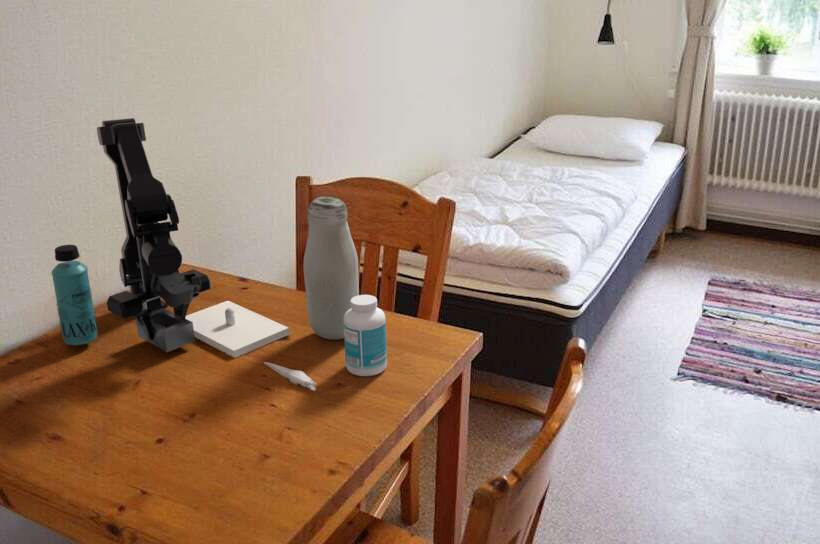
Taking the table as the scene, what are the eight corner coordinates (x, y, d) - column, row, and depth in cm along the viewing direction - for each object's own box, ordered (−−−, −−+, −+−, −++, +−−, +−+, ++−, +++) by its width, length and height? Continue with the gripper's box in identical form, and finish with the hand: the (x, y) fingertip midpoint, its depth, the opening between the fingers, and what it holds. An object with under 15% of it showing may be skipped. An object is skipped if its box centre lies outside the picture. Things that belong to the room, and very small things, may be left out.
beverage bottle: (56, 349, 154) (37, 250, 146) (81, 334, 160) (64, 239, 152) (83, 355, 152) (65, 255, 144) (107, 340, 157) (92, 243, 150)
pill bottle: (389, 359, 149) (388, 291, 144) (384, 379, 142) (382, 309, 137) (349, 357, 150) (346, 290, 145) (342, 377, 143) (339, 307, 138)
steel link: (138, 336, 156) (135, 317, 154) (165, 326, 160) (163, 307, 158) (167, 352, 149) (164, 332, 148) (194, 341, 153) (192, 322, 152)
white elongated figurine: (323, 388, 139) (322, 378, 139) (311, 394, 138) (310, 384, 137) (270, 364, 149) (269, 354, 149) (258, 369, 148) (257, 360, 147)
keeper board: (175, 326, 163) (172, 304, 161) (228, 306, 171) (226, 285, 170) (234, 357, 150) (232, 334, 148) (289, 334, 159) (287, 311, 157)
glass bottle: (364, 326, 162) (360, 191, 152) (352, 349, 153) (347, 207, 142) (317, 323, 164) (309, 189, 153) (302, 345, 154) (293, 205, 144)
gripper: (132, 283, 137) (144, 364, 143) (224, 254, 150) (231, 330, 155) (99, 267, 144) (112, 345, 150) (189, 240, 157) (198, 314, 162)
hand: (165, 333), depth 154 cm, fingers closed on steel link, 6 cm apart
